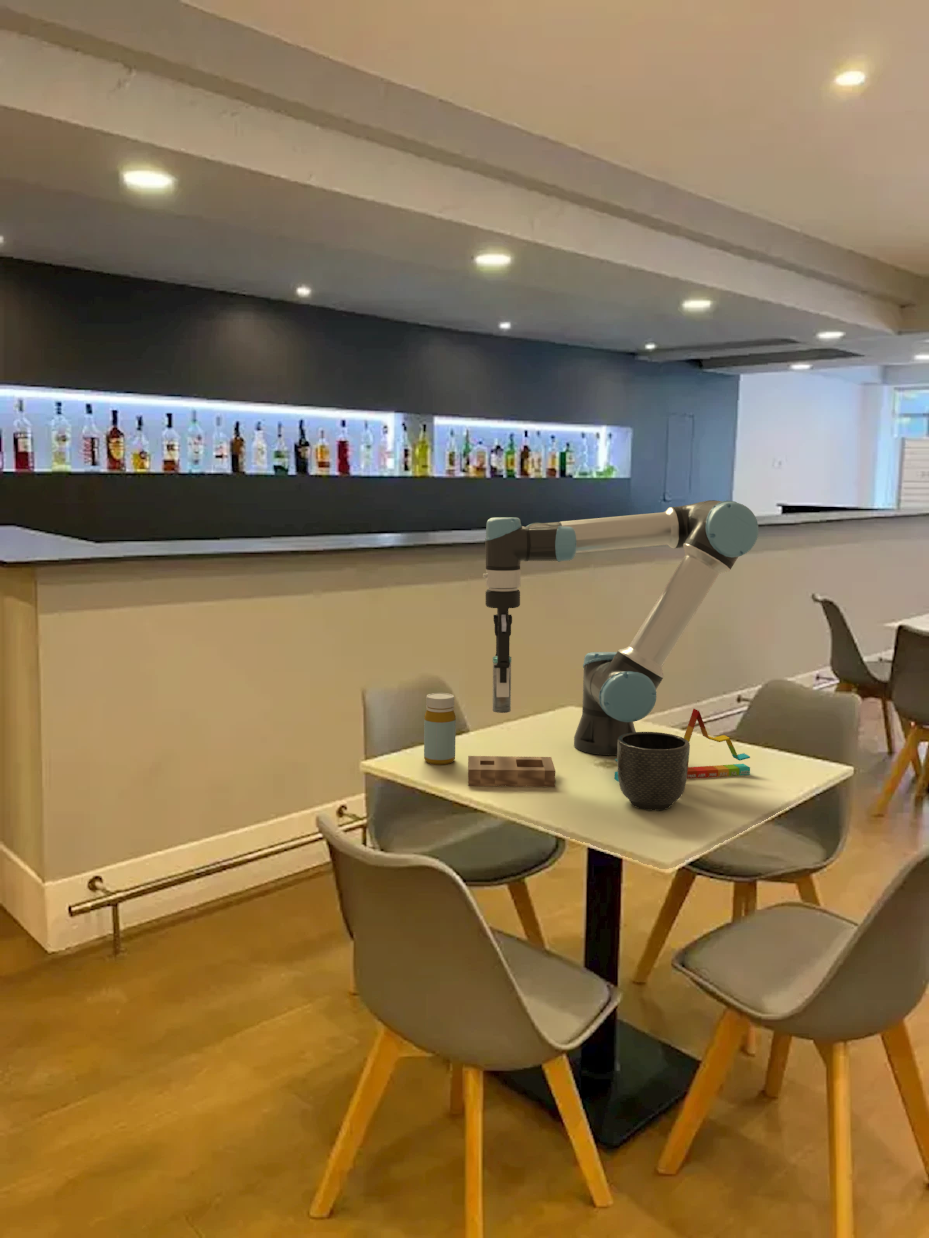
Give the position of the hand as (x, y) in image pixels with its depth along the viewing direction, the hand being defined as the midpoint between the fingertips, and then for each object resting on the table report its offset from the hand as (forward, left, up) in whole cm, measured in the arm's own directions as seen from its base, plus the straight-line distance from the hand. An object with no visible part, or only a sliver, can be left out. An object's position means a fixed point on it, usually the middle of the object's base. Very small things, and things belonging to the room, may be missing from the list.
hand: (502, 694), depth 215 cm
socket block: (-2, +10, -16) cm, 19 cm away
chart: (-39, +7, -17) cm, 43 cm away
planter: (-29, +25, -16) cm, 41 cm away
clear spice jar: (0, 0, -4) cm, 4 cm away
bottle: (+14, -3, -16) cm, 22 cm away
